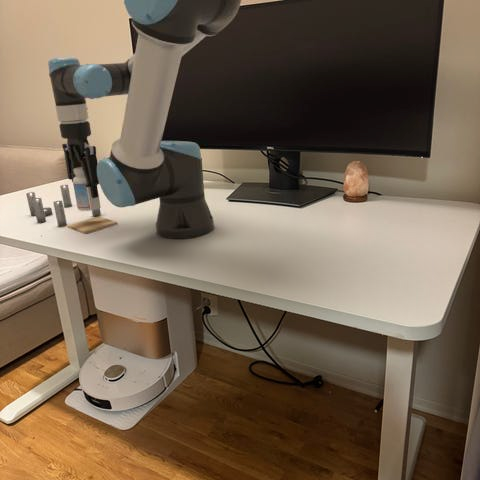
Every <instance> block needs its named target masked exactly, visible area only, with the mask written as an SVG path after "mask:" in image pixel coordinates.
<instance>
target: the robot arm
mask: <svg viewBox="0 0 480 480" xmlns="http://www.w3.org/2000/svg"><path fill="white" fill-rule="evenodd" d="M241 3H242V0H124V1H123V4H124V6H125V9H126V11H127V14H128V15H129V16H130V17H131V24H132V25H131V26H133V28H134V29H135V31H136V33H137V34H138V35H137V42H136V47H135V53H133V54H132V55H131V56H130V58H128V59H127V60H126V61H125V62H119V63H116V62H115V63H100V64H99V63H86V64H82V65H81V63H80V60H79V59H78V58H77V57H59V58H58V57H57V58H50V59H49V60H48V63H47V64H48V71H49V72H48V73H49V74H48V76H49V78H50V83H51V88H52V93H53V97H54V102H55V103H54V104H55V110H56V116H57V121H58V122H60V123H59V125H58V126H59V130H60V135H61V138H62V139H66V141H67V142H66V143H62V145H61V147H62V150H63V153H64V159H65V166H66V172H67V178H68V180H69V181H70V180H71V182H72V183H73V179H74V177H76V175H75V174H74V168H78V167H82V169H83V172H84V175H85V178H86V181H87V184H88V185H85V186H86V188H87V193H88V199H89V205H90V210H89V211H92V210H95V209H98V208H100V209H101V202H100V201H101V200H100V196H99V195H98V194H99V191H98V185H99V187H100V189H101V191H102V193H103V195H104V196H105V198H106V200H108V202H109V203H111V204H112V205H113V206H114V207H117V208H126V207H127V208H128V207H134V206H136V205H139V204H142V203H147V202H150V201H153V200H156V199H159V205H158V206H159V207H158V212H157V217H156V222H155V229H156V234H157V235H158V236H159V237H162V238H167V239H180V240H181V239H190V238H196V237H200V236H204V235H206V234H209V233H210V232H212V231H213V230H214V228H215V225H214V224H215V223H214V218H213V215H212V213H211V210H210V208H209V207H210V206H209V205H208V203H207V201H206V196H205V185H204V174H203V158H202V154H201V148H200V146H199V144H198V143H197V142H194V141H193V142H192V141H183V140H181V141H180V140H163V135H164V131H165V126H166V122H167V119H168V113H169V111H170V110H169V109H170V106H171V101H172V98H173V94H174V90H175V84H176V81H177V78H178V73H179V68H180V64H181V60H182V57H183V56H184V55H185V54H186V53H188V52H189V51H190V50H192V49H193V48H194V47H195V46H196V45H198V44H199V43H200V42H201V41H202V40H204V38H206V37H212V36H214V37H215V36H216V35H217V34H219V33H220V32H221V31H222V30H224V28H226V27H227V26H229V24H230V23H231V22H232V21H233V20H234V18H235V17H236V15H237V13H238V12H239V9H240V7H241ZM123 95H125V96H126V95H127V98H126V103H125V110H124V116H123V122H122V126H121V133H120V137H119V138H117V139H116V140H114V142H113V143H112V144H111V147H110V148H111V150H110V154H109V157H104V158H102V159H100V160H99V161H98V158H97V148H96V146H95V145H92V146H91V145H90V143H89V140H88V137H91V136H92V130H91V124H90V122H89V121H88V119H89V115H88V114H89V112H88V110H89V108H88V106H87V99H91V100H94V99H101V98H104V97H113V96H123Z"/></svg>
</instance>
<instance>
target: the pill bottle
mask: <svg viewBox="0 0 480 480" xmlns="http://www.w3.org/2000/svg"><path fill="white" fill-rule="evenodd" d="M74 174H75V175H76V177H74V179H73V182H72V185H73V190H74V196H75V202H76V207H77V209H78V210H79V211H81V212H82V211H85V212H86V211H91V210H90V205H89V199H88V193H87V188H86V186H85V185H88V184H87V181H86V178H85V175H84V172H83V169H82V167H78V168H74ZM98 195H99V193H98Z"/></svg>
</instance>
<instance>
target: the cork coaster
mask: <svg viewBox="0 0 480 480" xmlns="http://www.w3.org/2000/svg"><path fill="white" fill-rule="evenodd" d="M118 224H119V223H118V221H115V220H112V219H109V218H105V217H103V216H98V217H91V218H88V219H84V220H81V221H78V222H74V223H70V224H67V225H66V227H67V228H69V229H71V230H74V231H76V232H79V233H82V234H85V235H87V234H90V233H91V234H92V233H94V232H96V231H100V230H103V229H107V228H109V227H110V228H111V227H112V226H115V225H118Z"/></svg>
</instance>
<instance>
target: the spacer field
mask: <svg viewBox="0 0 480 480" xmlns="http://www.w3.org/2000/svg"><path fill="white" fill-rule="evenodd" d="M60 192H61V198H62V200H56V201H53V208H54V212H55V216H56V217H55V218H56V221H57V227H58V228H62V227H67V225H68V223H67V219H66V214H65V209H66V208H67V209H68V208H72V206H73V204H72V200H71V199H72V198H71V194H70V188H69V185H68V184H62V185H60ZM26 199H27V204H28V208H29V209H28V210H29V211H30V216H31V217H36V222H37V223H38V224H44V223H46V222H47V217H45V213H44V209H43V208H44V204H43V201H42V197H36V193H35V192H33V191H30V192H26ZM91 213H92V218H94V217H98V216H100V217H102V212H101V208H98V209H95V210H91Z"/></svg>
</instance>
